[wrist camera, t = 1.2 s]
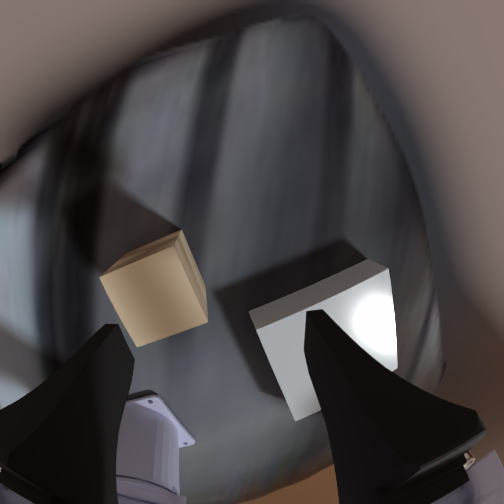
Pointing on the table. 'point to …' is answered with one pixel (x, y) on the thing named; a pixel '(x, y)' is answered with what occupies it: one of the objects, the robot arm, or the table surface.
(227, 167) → the table surface
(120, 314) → the beech block
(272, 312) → the ceramic box
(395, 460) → the robot arm
